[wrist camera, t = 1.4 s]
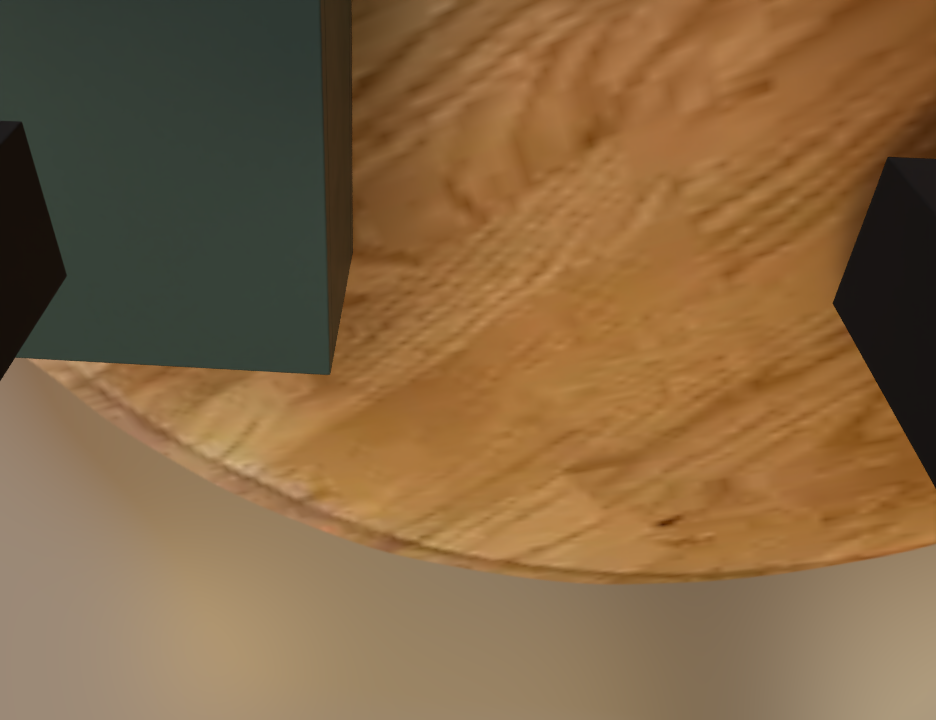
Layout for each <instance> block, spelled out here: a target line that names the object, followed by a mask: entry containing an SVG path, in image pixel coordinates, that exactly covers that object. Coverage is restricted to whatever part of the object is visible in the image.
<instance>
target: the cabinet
mask: <svg viewBox="0 0 936 720" xmlns="http://www.w3.org/2000/svg"><path fill="white" fill-rule="evenodd" d="M0 121H21V122H22V123H23V127H24V130H25V134H26V137H27V140H28V144H29V147H30V151H31V154H32V158H33V161H34V164H35V168H36V171H37V175H38V178H39V181H40V185H41V188H42V192H43V195H44V199H45V202H46V205H47V209H48V212H49V216H50V219H51V223H52V226H53V229H54V233H55V236H56V240H57V243H58V246H59V250H60V253H61V257H62V260H63V264H64V267H65V270H66V274H67V277H66V278H65V280H64V281H63V283H62V285H61V286H60V288H59V289H58V291H57V292H56V294H55V296H54V297H53V299H52V300H51V302H50V303H49V305H48V307H47V308H46V310H45V311H44V313H43V314H42V316H41V318H40V319H39V321H38V322H37V324H36V325H35V327H34V329H33V330H32V332H31V333H30V335H29V336H28V338H27V340H26V341H25V343H24V344H23V346H22V347H21V349H20V351H19V352H18V354H17V355H16V357H15V358H32V359H50V360H68V361H86V362H104V363H123V364H141V365H159V366H177V367H195V368H213V369H231V370H249V371H267V372H285V373H303V374H321V375H330V373H331V368H332V362H333V357H334V351H335V346H336V341H337V335H338V330H339V324H340V319H341V313H342V308H343V302H344V297H345V291H346V286H347V280H348V275H349V269H350V264H351V259H352V254H353V214H352V13H351V0H0Z"/></svg>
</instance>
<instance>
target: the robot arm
mask: <svg viewBox="0 0 936 720" xmlns="http://www.w3.org/2000/svg"><path fill="white" fill-rule="evenodd" d="M66 277H67V274H66V270H65V267H64V264H63V260H62V257H61V253H60V250H59V246H58V243H57V240H56V236H55V233H54V229H53V226H52V223H51V219H50V216H49V212H48V209H47V205H46V202H45V199H44V195H43V192H42V188H41V185H40V181H39V178H38V175H37V171H36V168H35V164H34V161H33V158H32V154H31V151H30V147H29V144H28V140H27V137H26V134H25V130H24V127H23V123H22V122H21V121H0V380H1V379H2V377H3V376H4V374H5V373H6V371H7V370H8V368H9V366H10V365H11V363H12V362H13V360H14V358H15V357H16V355H17V354H18V352H19V351H20V349H21V347H22V346H23V344H24V343H25V341H26V340H27V338H28V336H29V335H30V333H31V332H32V330H33V329H34V327H35V325H36V324H37V322H38V321H39V319H40V318H41V316H42V314H43V313H44V311H45V310H46V308H47V307H48V305H49V303H50V302H51V300H52V299H53V297H54V296H55V294H56V292H57V291H58V289H59V288H60V286H61V285H62V283H63V281H64V280H65V278H66ZM833 305H834V307H835V308H836V310H837V312H838V314H839V316H840V317H841V319H842V321H843V323H844V324H845V326H846V328H847V330H848V332H849V333H850V335H851V337H852V339H853V341H854V342H855V344H856V346H857V348H858V350H859V351H860V353H861V355H862V357H863V359H864V360H865V362H866V364H867V366H868V368H869V369H870V371H871V373H872V375H873V377H874V378H875V380H876V382H877V384H878V386H879V387H880V389H881V391H882V393H883V394H884V396H885V398H886V400H887V402H888V403H889V405H890V407H891V409H892V411H893V412H894V414H895V416H896V418H897V420H898V421H899V423H900V425H901V427H902V429H903V430H904V432H905V434H906V436H907V438H908V439H909V441H910V443H911V445H912V447H913V448H914V450H915V452H916V454H917V456H918V457H919V459H920V461H921V463H922V464H923V466H924V468H925V470H926V472H927V473H928V475H929V477H930V479H931V481H932V482H933V484H934V486H935V488H936V159H925V158H900V157H888V158H887V160H886V163H885V166H884V168H883V171H882V174H881V176H880V179H879V182H878V184H877V187H876V190H875V192H874V195H873V198H872V200H871V203H870V205H869V208H868V211H867V213H866V216H865V219H864V221H863V224H862V227H861V229H860V232H859V235H858V237H857V240H856V243H855V245H854V248H853V251H852V253H851V256H850V259H849V261H848V264H847V267H846V269H845V272H844V275H843V277H842V280H841V283H840V285H839V288H838V291H837V293H836V296H835V299H834V301H833Z"/></svg>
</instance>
